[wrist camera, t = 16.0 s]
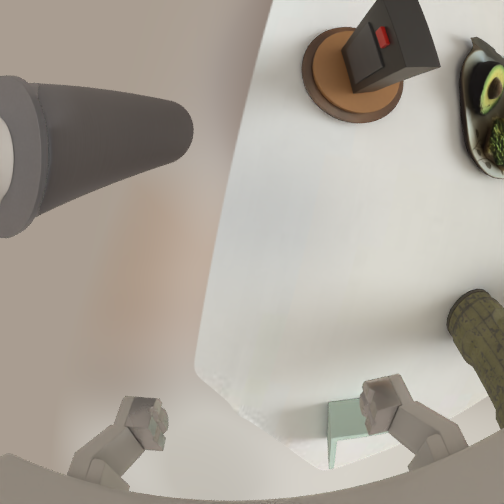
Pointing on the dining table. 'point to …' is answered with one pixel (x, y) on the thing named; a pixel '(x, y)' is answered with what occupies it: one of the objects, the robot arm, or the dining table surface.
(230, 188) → the dining table surface
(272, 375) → the dining table surface
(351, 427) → the right angle wall
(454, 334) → the thermos
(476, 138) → the salad plate
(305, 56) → the swivel stand
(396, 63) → the slab on wooden base
